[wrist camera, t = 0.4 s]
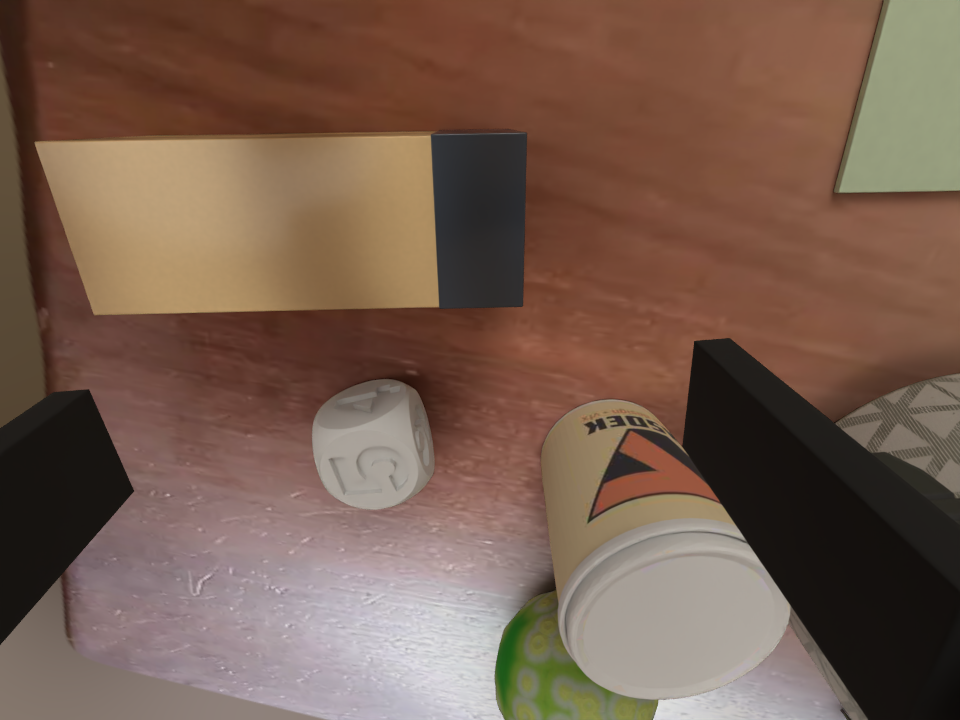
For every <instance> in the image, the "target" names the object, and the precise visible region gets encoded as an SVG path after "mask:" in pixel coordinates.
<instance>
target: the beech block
mask: <svg viewBox="0 0 960 720" xmlns="http://www.w3.org/2000/svg"><path fill="white" fill-rule="evenodd" d="M35 146H36V149H37V152H38V155H39V158H40V161H41V163H42V166H43V169H44V172H45V175H46V178H47V181H48V184H49V186H50V189H51V192H52V195H53V198H54V201H55V204H56V207H57V210H58V212H59V215H60V218H61V221H62V224H63V227H64V230H65V233H66V236H67V238H68V241H69V244H70V247H71V250H72V253H73V256H74V259H75V262H76V264H77V267H78V270H79V273H80V276H81V279H82V282H83V285H84V287H85V290H86V293H87V296H88V299H89V302H90V305H91V308H92V311H93V313H94V315H123V314H166V313H208V312H251V311H294V310H337V309H379V308H422V307H439V308H440V309H451V308H494V307H523V287H524V243H525V200H526V156H527V133H526V132H521V131H516V130H511V129H468V130H439V131H417V132H352V133H286V134H220V135H155V136H133V137H113V138H94V139H75V140H56V141H36V142H35Z"/></svg>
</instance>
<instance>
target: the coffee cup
mask: <svg viewBox="0 0 960 720" xmlns="http://www.w3.org/2000/svg"><path fill="white" fill-rule="evenodd" d="M541 471H542V481H543V489H544V497H545V506H546V514H547V522H548V530H549V538H550V546H551V553H552V561H553V569H554V576H555V583H556V590H557V597H558V603H559V605H558V626H559V631H560V636H561V638H562V641H563V644H564V646H565V648H566V650H567V652H568V653H569V655H570V656H571V657H572V659H573V660H574V661H575V662H576V664H577V665H578V666H579V668H580V669H581V670H582V671H583V673H584V674H585V675H586V676H587V677H589V678H590V679H591V680H592V681H594V682H595V683H596V684H598V685H600V686H602V687H604V688H605V689H607V690H609V691H612V692H615V693H618V694H621V695H624V696H628V697H633V698H639V699H651V700H666V699H677V698H685V697H690V696H694V695H698V694H702V693H706V692H709V691H712V690H715V689H717V688H720V687H722V686H725V685H727V684H729V683H731V682H733V681H735V680H737V679H738V678H740V677H742V676H744V675H745V674H747V673H748V672H750V671H751V670H752V669H754V668H755V667H756V666H758V665H759V664H760V663H761V662H762V661H763V660H764V659H765V658H766V657H768V655H769V654H770V653H771V652H772V651H773V650H774V648H775V647H776V646H777V644H778V643H779V642H780V640H781V638H782V636H783V634H784V632H785V630H786V627H787V625H788V621H789V616H790V604H789V603H788V601H787V600H786V598H785V597H784V595H783V594H782V593H781V591H780V590H779V588H778V587H777V585H776V584H775V582H774V581H773V579H772V578H771V576H770V575H769V573H768V572H767V570H766V569H765V568H764V566H763V565H762V563H761V562H760V560H759V559H758V557H757V556H756V554H755V553H754V551H753V550H752V548H751V547H750V546H749V544H748V543H747V541H746V540H745V538H744V537H743V535H742V534H741V532H740V531H739V529H738V528H737V526H736V525H735V523H734V522H733V521H732V519H731V518H730V516H729V515H728V513H727V512H726V510H725V509H724V507H723V506H722V504H721V503H720V501H719V500H718V498H717V497H716V496H715V494H714V493H713V491H712V490H711V488H710V487H709V485H708V484H707V482H706V481H705V479H704V478H703V476H702V475H701V473H700V472H699V471H698V469H697V468H696V466H695V465H694V463H693V462H692V460H691V459H690V457H689V456H688V454H687V453H686V451H685V450H684V449H683V447H682V446H681V445H680V444H679V443H678V441H677V440H676V439H675V438H674V437H673V435H672V434H671V433H670V432H669V431H668V430H667V428H666V427H665V426H664V425H663V424H662V423H661V422H660V421H659V420H658V419H657V418H656V416H654V415H653V414H652V413H651V412H650V411H648V410H647V409H645V408H643V407H641V406H639V405H637V404H635V403H632V402H628V401H623V400H614V399H608V400H599V401H593V402H590V403H586V404H584V405H581V406H579V407H577V408H575V409H573V410H571V411H570V412H568V413H567V414H565V415H564V416H563V417H562V418H561V419H560V420H559V421H557V422H556V424H555V425H554V426H553V427H552V429H551V430H550V431H549V433H548V435H547V437H546V439H545V441H544V444H543V448H542V452H541Z"/></svg>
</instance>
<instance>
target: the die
mask: <svg viewBox="0 0 960 720" xmlns="http://www.w3.org/2000/svg"><path fill="white" fill-rule="evenodd" d="M312 446H313V454H314V459H315V464H316V467H317V471H318V474H319V476H320V479H321V481H322V483H323V485H324V487H325V488H326V490H327V491H328V492H329V493H330V494H331V495H332V496H334V497H335V498H336V499H338V500H340V501H341V502H343V503H345V504H347V505H350V506H353V507H356V508H361V509H368V510H379V509H385V508H389V507H393V506H396V505H398V504H401V503H403V502H405V501H407V500H408V499H410V498H412V497H413V496H415V495H416V494H417V493H418V492H420V491H421V490H422V489H423V488H424V487H425V485H426V484H427V483H428V481H429V480H430V478H431V477H432V476H433V473H434V448H433V441H432V435H431V430H430V426H429V422H428V418H427V414H426V411H425V408H424V405H423V403H422V400H421V398H420V396H419V394H418V392H417V391H416V390H415V389H414V388H412V387H410V386H409V385H407V384H405V383H403V382H400V381H397V380H392V379H380V380H373V381H368V382H364V383H361V384H358V385H355V386H352V387H350V388H348V389H346V390H344V391H342V392H340V393H338V394H336V395H335V396H333V397H332V398H331V399H329V400H328V401H327V402H326V403H325V404H323V406H322V407H321V408H320V409H319V411H318V412H317V414H316V416H315V419H314V422H313V429H312Z"/></svg>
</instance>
